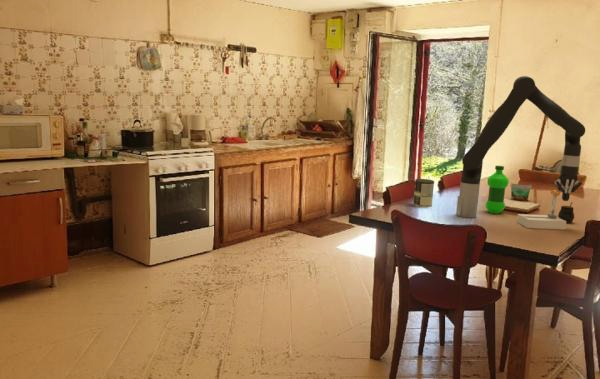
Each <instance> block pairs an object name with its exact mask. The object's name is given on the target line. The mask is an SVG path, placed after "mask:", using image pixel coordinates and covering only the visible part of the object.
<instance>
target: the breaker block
mask: <svg viewBox="0 0 600 379" xmlns="http://www.w3.org/2000/svg"><path fill="white" fill-rule="evenodd" d="M547 216H548V214H547V215H546V214H523V213H521V214H520V213H517V216H516V217H517V218H516V223H518V224H519V225H522V226H523V227H525V228H527V229H542V230H566V227H567V223H566V221H565V220H562V219H560V218H558V216H557V218H549V217H547Z"/></svg>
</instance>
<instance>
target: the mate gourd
mask: <svg viewBox="0 0 600 379" xmlns="http://www.w3.org/2000/svg"><path fill="white" fill-rule="evenodd" d="M572 204H573V202H572V201H571V203H570V205H560V206H561V207H560V210H559V212H558V214H557V217H558V218H560V219H562V220H565V221H566V224H569V223H572V222H574V219H575V213H574V207H573V206H572Z"/></svg>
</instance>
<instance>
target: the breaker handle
mask: <svg viewBox="0 0 600 379" xmlns="http://www.w3.org/2000/svg"><path fill="white" fill-rule="evenodd" d="M550 194H551V195H552V200H551V207H550V214H548V213H547V215H548V216H547V217H549V218H557V217H558V215H556V214H555V212H556V204H557V196H558V197H559V196H560V194H561V191H559V190H555V189H551V190H550Z"/></svg>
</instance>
